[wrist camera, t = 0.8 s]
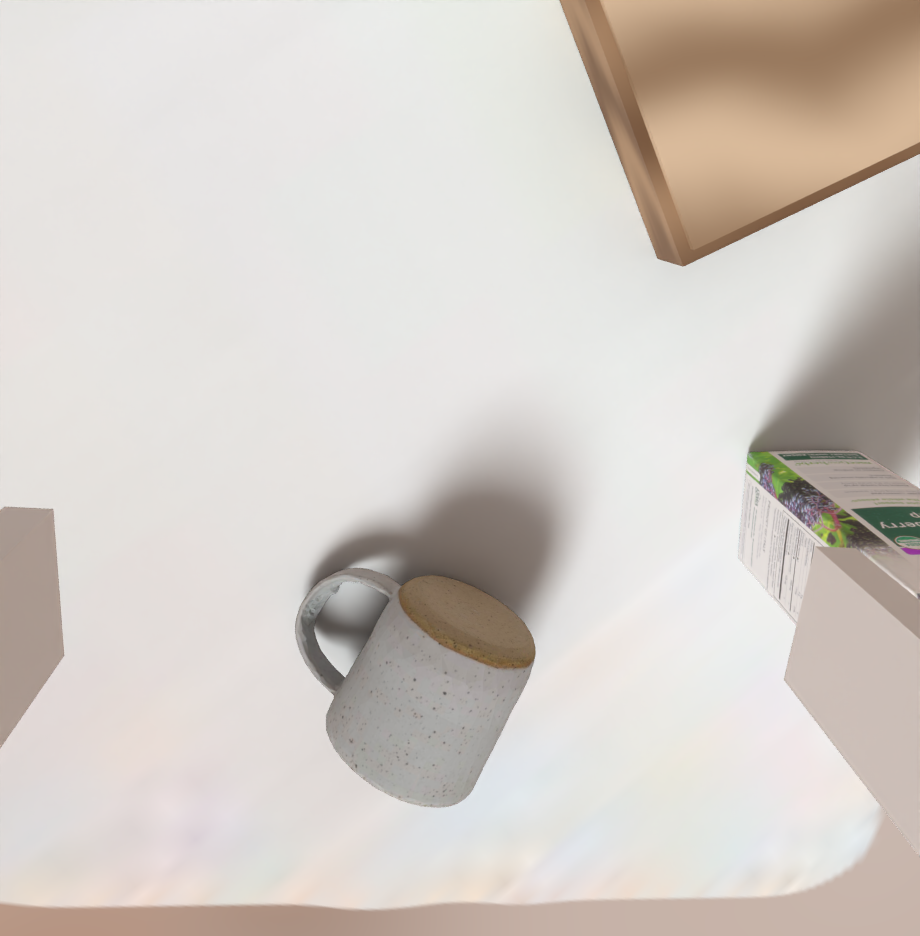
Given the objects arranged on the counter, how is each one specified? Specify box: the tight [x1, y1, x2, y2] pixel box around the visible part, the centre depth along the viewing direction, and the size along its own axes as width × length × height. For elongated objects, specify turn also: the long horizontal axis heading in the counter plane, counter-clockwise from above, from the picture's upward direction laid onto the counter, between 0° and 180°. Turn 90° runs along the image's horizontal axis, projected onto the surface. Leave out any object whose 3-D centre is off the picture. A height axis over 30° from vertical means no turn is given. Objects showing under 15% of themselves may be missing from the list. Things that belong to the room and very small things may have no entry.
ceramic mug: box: [295, 568, 535, 808], centre depth 39 cm, size 11×8×8 cm
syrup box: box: [738, 450, 920, 626], centre depth 35 cm, size 6×6×14 cm
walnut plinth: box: [560, 0, 920, 266], centre depth 33 cm, size 12×12×4 cm
